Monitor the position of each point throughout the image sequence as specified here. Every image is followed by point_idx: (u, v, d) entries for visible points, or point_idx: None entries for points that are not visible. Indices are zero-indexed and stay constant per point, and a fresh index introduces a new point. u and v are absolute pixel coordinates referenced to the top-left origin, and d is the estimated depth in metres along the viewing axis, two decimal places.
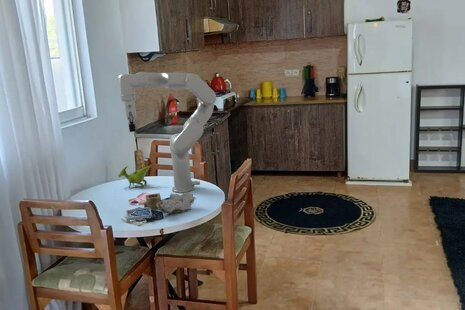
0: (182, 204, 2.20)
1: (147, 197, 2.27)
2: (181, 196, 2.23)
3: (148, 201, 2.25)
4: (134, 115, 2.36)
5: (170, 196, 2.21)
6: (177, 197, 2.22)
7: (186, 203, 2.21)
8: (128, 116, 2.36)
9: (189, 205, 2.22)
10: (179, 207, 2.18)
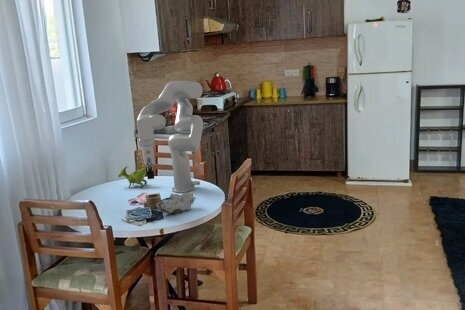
0: (182, 204, 2.20)
1: (147, 197, 2.27)
2: (181, 196, 2.23)
3: (148, 201, 2.25)
4: (153, 161, 2.20)
5: (170, 196, 2.21)
6: (177, 197, 2.22)
7: (186, 203, 2.21)
8: (146, 162, 2.19)
9: (189, 205, 2.22)
10: (179, 207, 2.18)
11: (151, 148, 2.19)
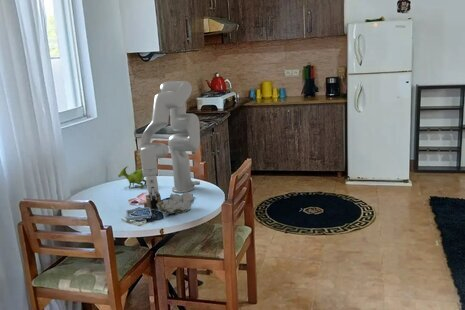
0: (182, 204, 2.20)
1: (147, 197, 2.27)
2: (181, 196, 2.23)
3: (148, 201, 2.25)
4: (156, 190, 2.23)
5: (170, 196, 2.21)
6: (177, 197, 2.22)
7: (186, 203, 2.21)
8: (150, 193, 2.23)
9: (189, 205, 2.22)
10: (180, 207, 2.18)
11: (154, 177, 2.22)
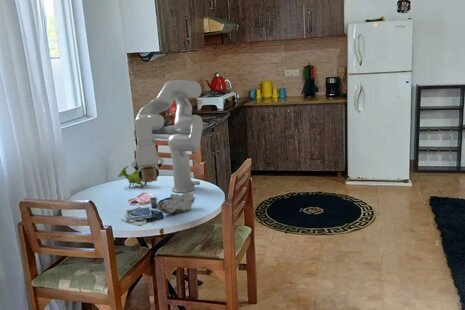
0: (183, 204, 2.20)
1: (151, 169, 2.21)
2: (181, 196, 2.23)
3: None
4: None
5: (170, 196, 2.21)
6: (177, 197, 2.22)
7: (187, 203, 2.21)
8: (157, 161, 2.23)
9: (190, 205, 2.22)
10: (180, 207, 2.18)
11: None
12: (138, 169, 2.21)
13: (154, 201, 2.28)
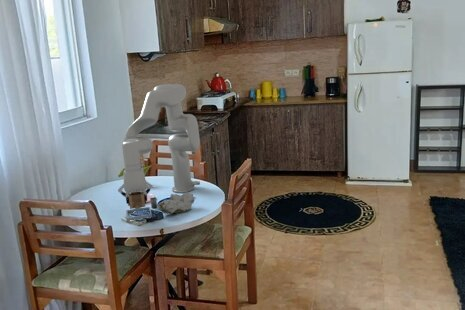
0: (183, 204, 2.20)
1: (138, 194, 2.13)
2: (181, 196, 2.23)
3: None
4: None
5: (171, 196, 2.21)
6: (178, 197, 2.22)
7: (187, 203, 2.21)
8: (145, 186, 2.15)
9: (190, 205, 2.22)
10: (180, 207, 2.18)
11: None
12: (125, 195, 2.13)
13: (154, 201, 2.28)
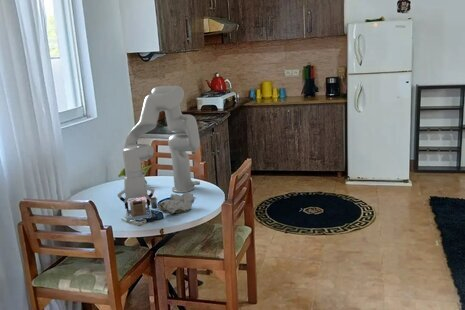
0: (183, 204, 2.19)
1: (140, 204, 2.15)
2: (182, 196, 2.23)
3: (145, 206, 2.16)
4: None
5: (171, 197, 2.20)
6: (178, 197, 2.22)
7: (187, 203, 2.21)
8: None
9: (190, 205, 2.22)
10: (181, 207, 2.18)
11: None
12: (124, 200, 2.14)
13: (154, 201, 2.28)
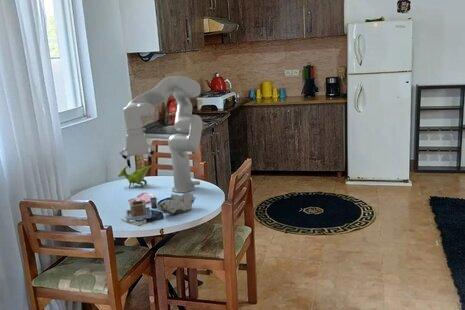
0: (184, 204, 2.19)
1: (140, 204, 2.15)
2: (182, 196, 2.23)
3: (145, 206, 2.16)
4: None
5: (171, 197, 2.20)
6: (178, 197, 2.22)
7: (187, 203, 2.21)
8: None
9: (190, 205, 2.22)
10: (181, 207, 2.17)
11: None
12: (126, 157, 2.20)
13: (154, 201, 2.28)
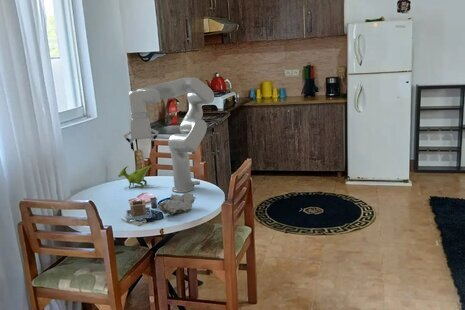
0: (184, 204, 2.19)
1: (140, 204, 2.15)
2: (182, 196, 2.22)
3: (145, 206, 2.16)
4: None
5: (171, 197, 2.20)
6: (178, 198, 2.22)
7: (187, 203, 2.21)
8: None
9: (190, 205, 2.22)
10: (181, 207, 2.17)
11: None
12: (130, 141, 2.28)
13: (154, 201, 2.28)
